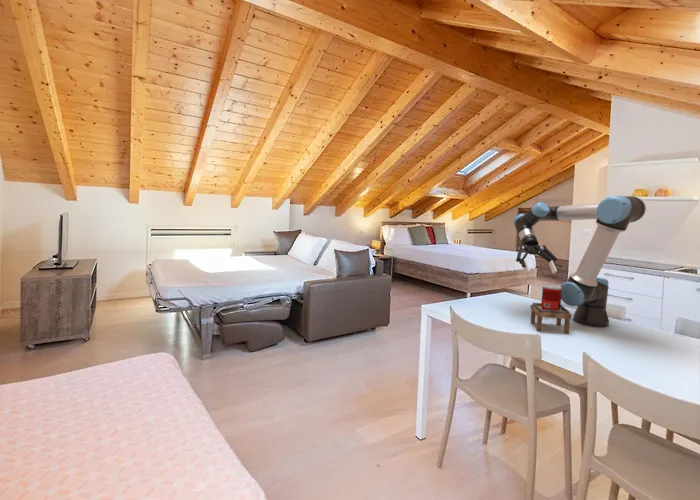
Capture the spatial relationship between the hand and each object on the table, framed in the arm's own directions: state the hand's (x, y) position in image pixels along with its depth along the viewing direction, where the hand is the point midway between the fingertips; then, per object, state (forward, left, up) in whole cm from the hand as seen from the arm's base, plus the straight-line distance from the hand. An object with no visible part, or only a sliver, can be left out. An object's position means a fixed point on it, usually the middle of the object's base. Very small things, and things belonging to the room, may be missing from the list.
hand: (541, 272), depth 185 cm
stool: (-3, +9, -25) cm, 27 cm away
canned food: (-3, +9, -16) cm, 19 cm away
